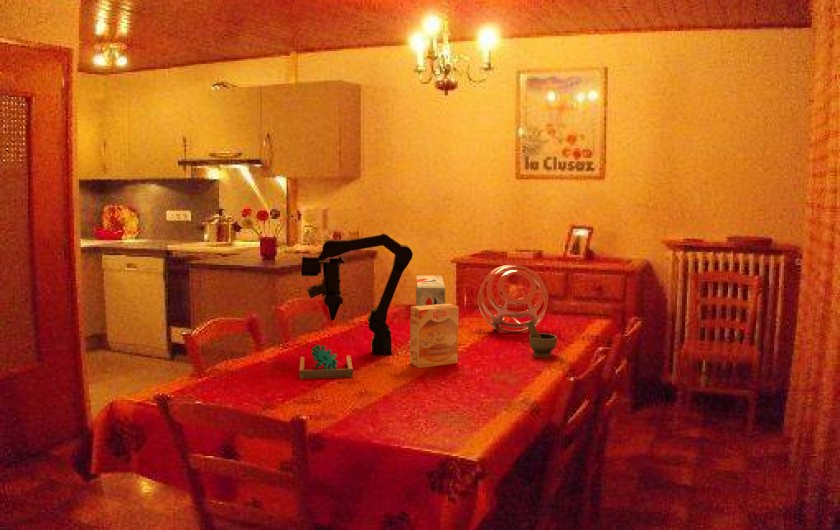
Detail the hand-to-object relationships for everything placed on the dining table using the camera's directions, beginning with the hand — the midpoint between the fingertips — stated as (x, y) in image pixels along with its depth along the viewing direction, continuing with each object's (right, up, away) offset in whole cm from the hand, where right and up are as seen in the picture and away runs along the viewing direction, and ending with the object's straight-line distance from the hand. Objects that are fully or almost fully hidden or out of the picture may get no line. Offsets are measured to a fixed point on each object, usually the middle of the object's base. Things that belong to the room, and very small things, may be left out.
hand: (332, 320), depth 261 cm
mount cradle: (0, -15, -20) cm, 25 cm away
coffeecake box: (+35, -14, -10) cm, 39 cm away
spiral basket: (+68, -8, +40) cm, 79 cm away
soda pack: (+35, -2, +84) cm, 91 cm away
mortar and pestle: (+73, -13, +2) cm, 74 cm away
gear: (0, -15, -18) cm, 24 cm away
